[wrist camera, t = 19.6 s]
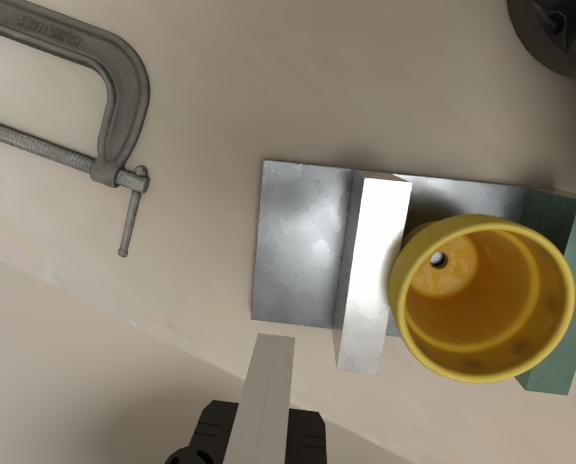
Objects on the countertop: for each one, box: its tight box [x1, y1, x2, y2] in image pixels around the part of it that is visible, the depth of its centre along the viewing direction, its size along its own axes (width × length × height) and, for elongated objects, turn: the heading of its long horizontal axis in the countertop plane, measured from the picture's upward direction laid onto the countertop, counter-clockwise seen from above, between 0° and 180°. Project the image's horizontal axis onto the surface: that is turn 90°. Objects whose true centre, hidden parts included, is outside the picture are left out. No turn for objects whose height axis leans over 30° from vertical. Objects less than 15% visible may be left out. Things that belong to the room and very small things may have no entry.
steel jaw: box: [332, 170, 412, 375], centre depth 29 cm, size 14×3×6 cm, turn 174°
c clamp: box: [0, 0, 150, 257], centre depth 32 cm, size 20×17×3 cm
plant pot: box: [388, 214, 575, 383], centre depth 28 cm, size 10×10×10 cm
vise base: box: [251, 159, 576, 395], centre depth 30 cm, size 14×24×8 cm, turn 84°
